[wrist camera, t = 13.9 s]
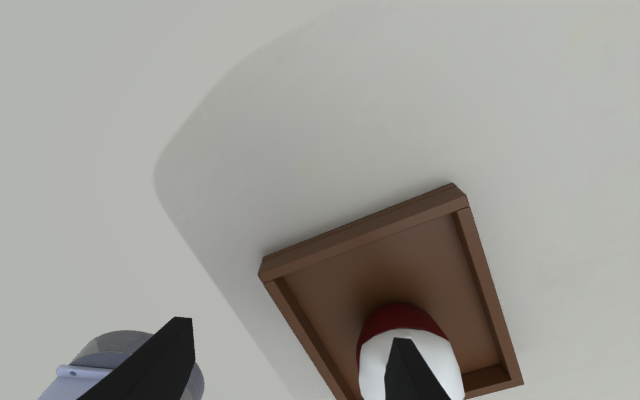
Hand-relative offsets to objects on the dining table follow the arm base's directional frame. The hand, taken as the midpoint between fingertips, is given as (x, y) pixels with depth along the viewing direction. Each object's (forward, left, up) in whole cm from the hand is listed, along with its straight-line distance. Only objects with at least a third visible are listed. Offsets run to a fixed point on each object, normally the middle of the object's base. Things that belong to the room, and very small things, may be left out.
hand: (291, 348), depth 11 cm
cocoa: (+7, -7, -10) cm, 14 cm away
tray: (+7, -7, -10) cm, 14 cm away
